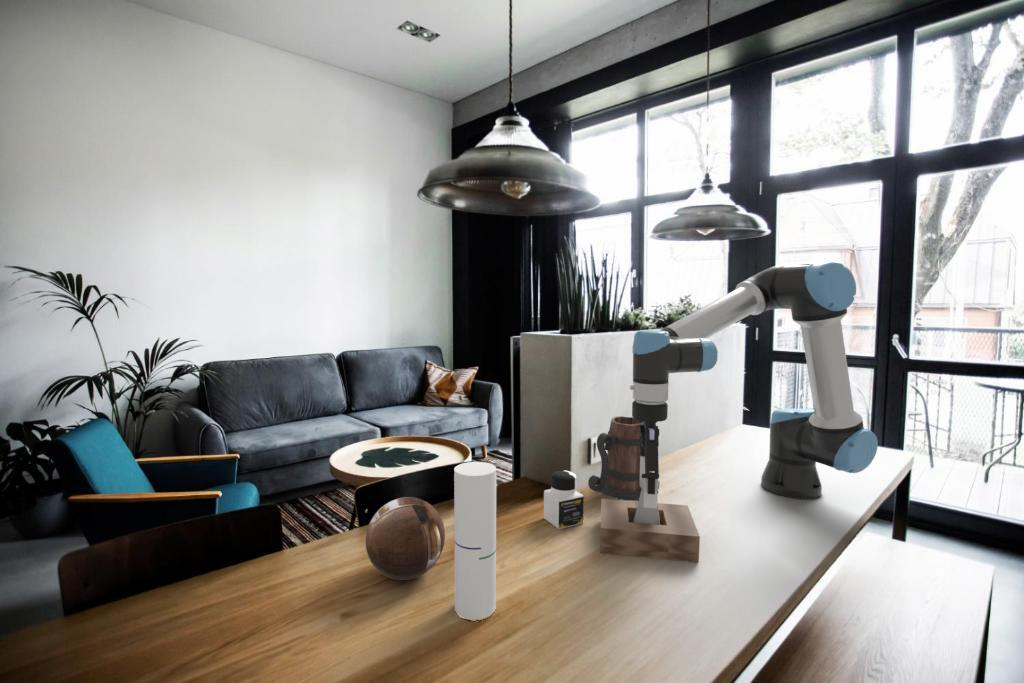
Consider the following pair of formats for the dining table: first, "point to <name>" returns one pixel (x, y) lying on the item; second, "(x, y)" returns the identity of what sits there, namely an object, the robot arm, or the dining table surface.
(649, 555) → the walnut socket block
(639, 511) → the salt shaker
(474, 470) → the cylindrical container
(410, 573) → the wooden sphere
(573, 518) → the medicine bottle
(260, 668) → the dining table surface
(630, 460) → the tankard
